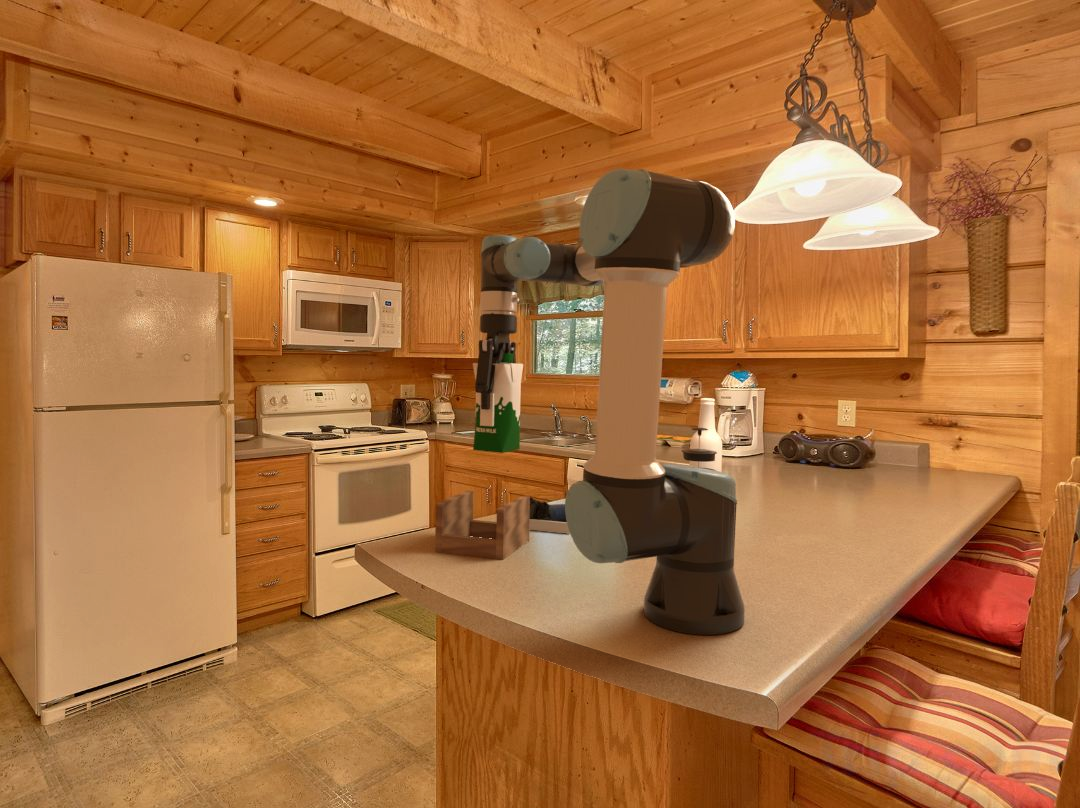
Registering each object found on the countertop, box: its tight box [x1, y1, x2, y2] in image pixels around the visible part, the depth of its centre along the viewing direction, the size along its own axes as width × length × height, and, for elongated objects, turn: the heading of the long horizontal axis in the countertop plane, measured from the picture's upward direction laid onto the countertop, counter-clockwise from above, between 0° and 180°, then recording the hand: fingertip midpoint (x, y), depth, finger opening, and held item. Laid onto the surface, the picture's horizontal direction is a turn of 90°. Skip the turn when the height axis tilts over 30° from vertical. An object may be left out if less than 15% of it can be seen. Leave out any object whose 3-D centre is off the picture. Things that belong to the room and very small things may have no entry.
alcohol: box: [689, 397, 723, 472], centre depth 185 cm, size 9×9×30 cm
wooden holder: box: [434, 490, 531, 561], centre depth 139 cm, size 15×15×10 cm
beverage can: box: [530, 497, 567, 522], centre depth 160 cm, size 9×8×12 cm
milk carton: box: [472, 353, 524, 454], centre depth 136 cm, size 9×9×20 cm
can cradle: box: [529, 515, 570, 535], centre depth 160 cm, size 15×12×2 cm
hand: (496, 423), depth 136 cm, fingers closed on milk carton, 9 cm apart
